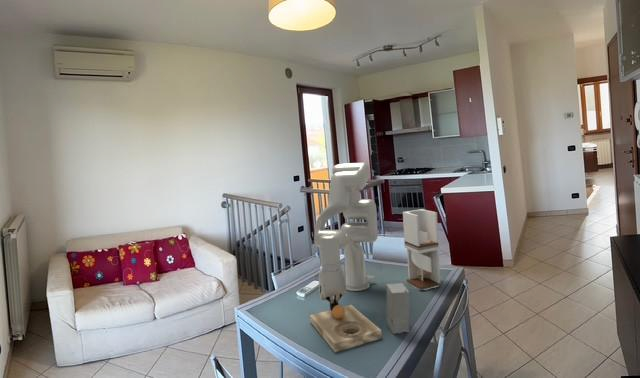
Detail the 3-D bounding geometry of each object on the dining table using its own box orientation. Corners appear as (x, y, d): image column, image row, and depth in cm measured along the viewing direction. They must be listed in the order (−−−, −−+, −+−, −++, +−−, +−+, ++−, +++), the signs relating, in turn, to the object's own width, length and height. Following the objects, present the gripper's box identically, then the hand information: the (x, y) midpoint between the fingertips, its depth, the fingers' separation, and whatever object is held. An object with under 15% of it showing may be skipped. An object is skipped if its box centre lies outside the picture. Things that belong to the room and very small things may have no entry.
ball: (340, 306, 143) (343, 301, 139) (345, 318, 140) (348, 313, 136) (329, 309, 141) (331, 304, 138) (333, 322, 139) (336, 317, 135)
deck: (351, 311, 150) (351, 304, 150) (381, 338, 128) (381, 330, 128) (310, 322, 144) (310, 315, 144) (335, 352, 122) (334, 343, 121)
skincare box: (386, 323, 138) (383, 283, 136) (404, 321, 138) (402, 281, 137) (392, 335, 130) (390, 292, 128) (412, 332, 130) (409, 290, 128)
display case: (406, 283, 175) (402, 212, 171) (425, 279, 178) (422, 209, 174) (420, 291, 164) (416, 215, 160) (440, 287, 168) (436, 212, 164)
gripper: (344, 260, 147) (347, 303, 149) (309, 267, 142) (313, 312, 144) (352, 265, 140) (356, 310, 142) (316, 272, 135) (320, 319, 137)
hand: (334, 311), depth 143 cm, fingers closed
